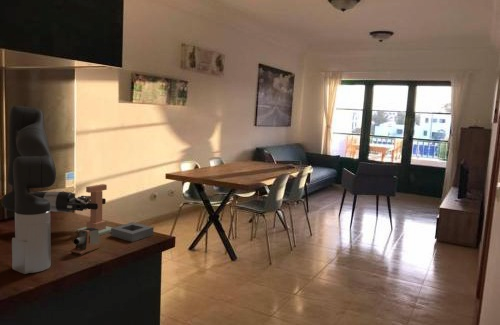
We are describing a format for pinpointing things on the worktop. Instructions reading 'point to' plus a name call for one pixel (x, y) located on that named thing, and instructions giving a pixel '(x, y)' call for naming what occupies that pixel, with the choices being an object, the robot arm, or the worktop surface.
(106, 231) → the mat
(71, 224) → the worktop surface
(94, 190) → the t key
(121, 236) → the socket block
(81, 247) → the electronic device
